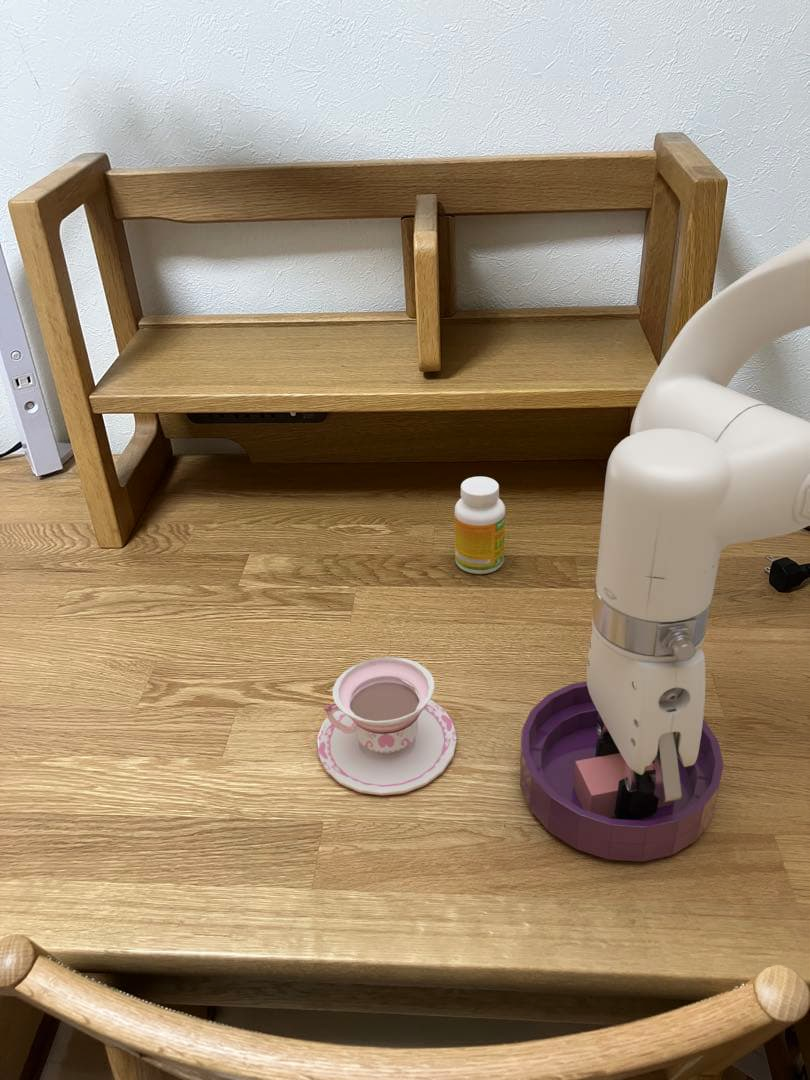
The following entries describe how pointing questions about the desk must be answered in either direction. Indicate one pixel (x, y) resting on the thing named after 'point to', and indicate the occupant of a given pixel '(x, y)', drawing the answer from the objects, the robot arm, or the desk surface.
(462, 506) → the supplement bottle
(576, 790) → the eraser
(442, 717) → the teacup
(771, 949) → the desk surface
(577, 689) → the bowl
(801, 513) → the robot arm
